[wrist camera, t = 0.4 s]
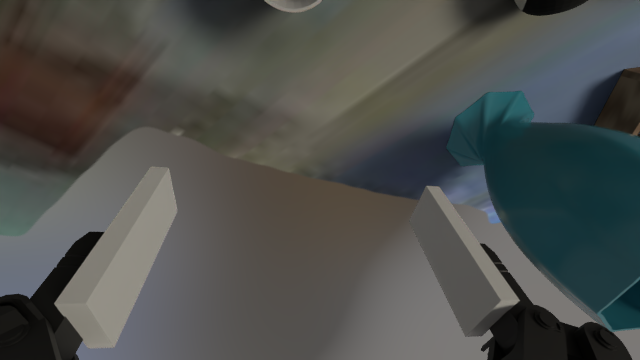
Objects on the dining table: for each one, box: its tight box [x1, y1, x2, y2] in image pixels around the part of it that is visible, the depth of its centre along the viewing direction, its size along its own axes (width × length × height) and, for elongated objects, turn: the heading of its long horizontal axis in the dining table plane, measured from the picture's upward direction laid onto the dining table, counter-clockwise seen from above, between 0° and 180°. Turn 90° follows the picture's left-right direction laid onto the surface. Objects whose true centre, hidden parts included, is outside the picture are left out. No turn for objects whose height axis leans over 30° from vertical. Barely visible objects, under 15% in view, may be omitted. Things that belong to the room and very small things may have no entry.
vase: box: [446, 91, 640, 332], centre depth 36 cm, size 17×17×30 cm
